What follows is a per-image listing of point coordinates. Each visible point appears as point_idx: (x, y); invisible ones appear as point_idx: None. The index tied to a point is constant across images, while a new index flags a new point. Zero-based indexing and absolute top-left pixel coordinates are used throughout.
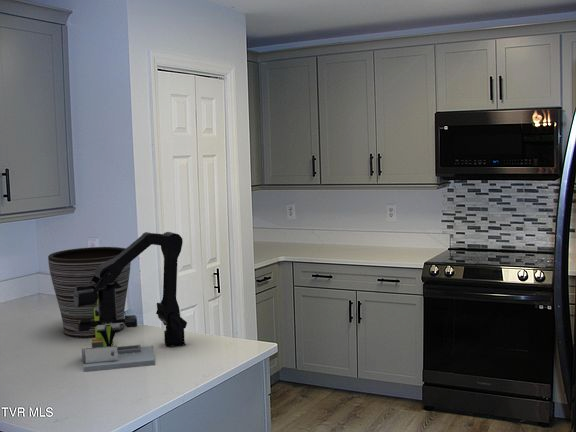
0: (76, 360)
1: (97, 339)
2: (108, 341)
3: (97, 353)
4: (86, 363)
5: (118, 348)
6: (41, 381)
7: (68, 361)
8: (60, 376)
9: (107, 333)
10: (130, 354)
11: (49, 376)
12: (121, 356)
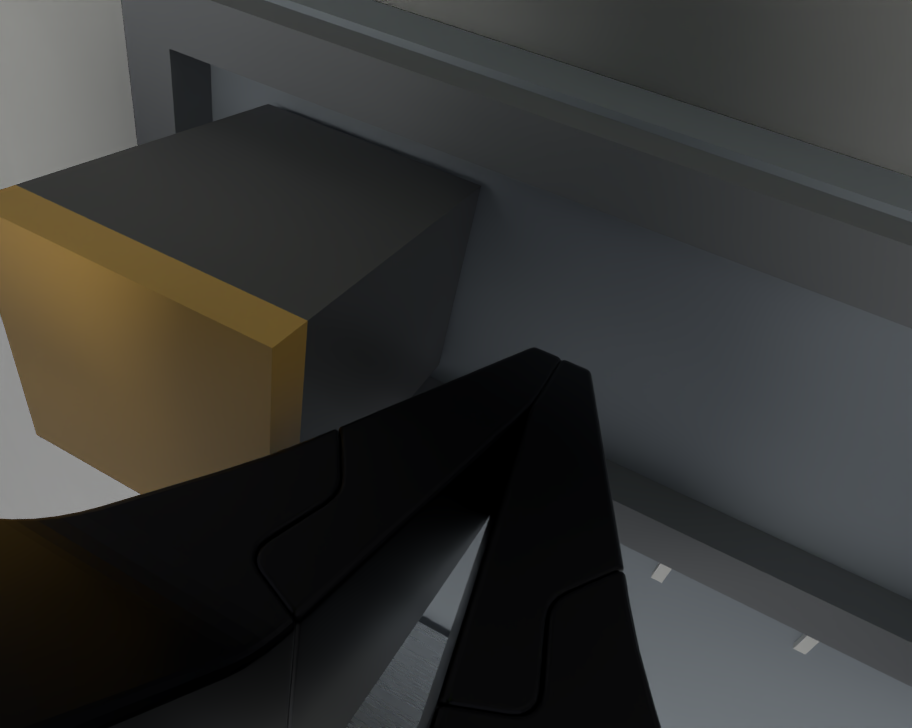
0: (112, 117)
1: (130, 393)
2: (433, 596)
3: None
4: None
5: (871, 297)
6: (2, 481)
7: (26, 93)
8: (88, 492)
9: (321, 619)
10: (872, 703)
11: (14, 433)
12: (676, 653)
